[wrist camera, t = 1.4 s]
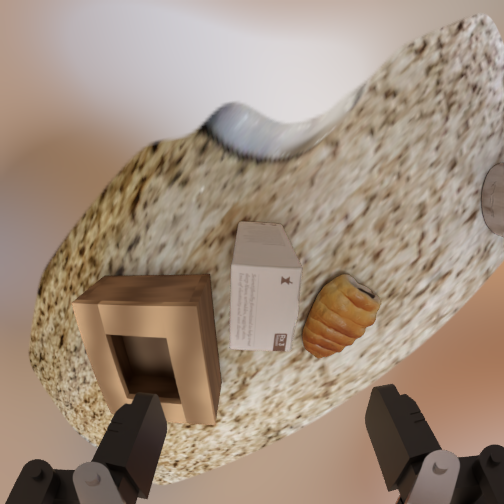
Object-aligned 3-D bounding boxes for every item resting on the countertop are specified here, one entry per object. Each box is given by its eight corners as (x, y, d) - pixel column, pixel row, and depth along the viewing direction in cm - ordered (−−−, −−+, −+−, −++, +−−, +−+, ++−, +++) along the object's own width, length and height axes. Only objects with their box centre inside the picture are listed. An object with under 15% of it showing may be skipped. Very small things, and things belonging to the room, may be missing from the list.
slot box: (209, 274, 30) (196, 306, 23) (221, 382, 34) (215, 424, 27) (104, 275, 30) (71, 302, 23) (130, 376, 34) (111, 413, 27)
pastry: (332, 357, 33) (339, 377, 29) (284, 334, 32) (287, 354, 28) (381, 293, 30) (394, 308, 27) (333, 264, 30) (343, 277, 26)
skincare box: (237, 220, 28) (224, 258, 17) (285, 223, 28) (305, 263, 17) (234, 281, 30) (222, 351, 18) (279, 283, 30) (293, 354, 18)
